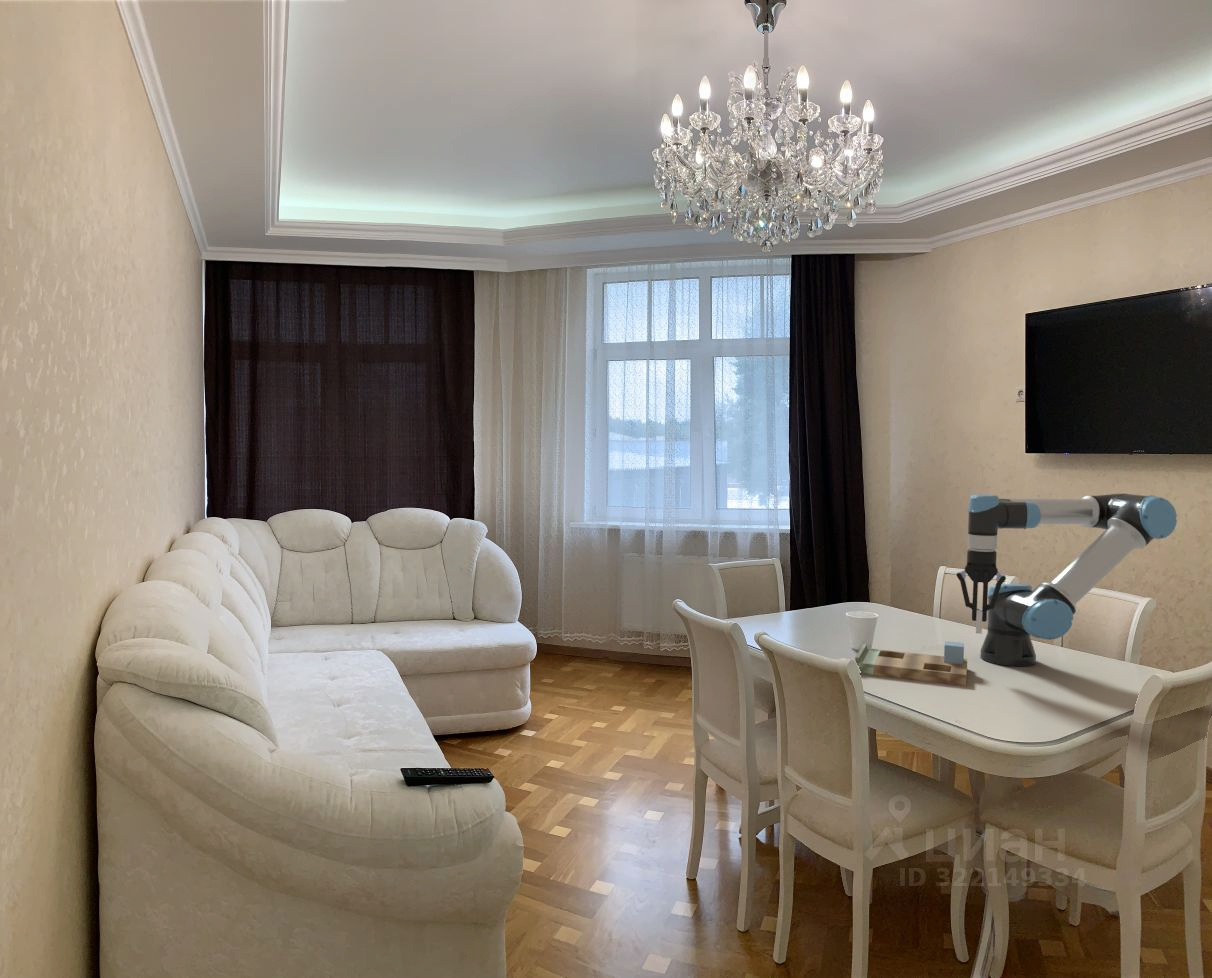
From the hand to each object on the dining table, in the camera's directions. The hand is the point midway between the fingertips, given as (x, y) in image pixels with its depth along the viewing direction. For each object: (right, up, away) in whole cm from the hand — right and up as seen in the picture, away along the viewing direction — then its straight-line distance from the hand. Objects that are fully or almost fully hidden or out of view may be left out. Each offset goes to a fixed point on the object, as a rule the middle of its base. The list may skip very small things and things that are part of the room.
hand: (978, 632), depth 234 cm
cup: (-24, -10, +29) cm, 39 cm away
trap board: (-17, -12, +4) cm, 21 cm away
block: (-6, -9, +3) cm, 11 cm away
